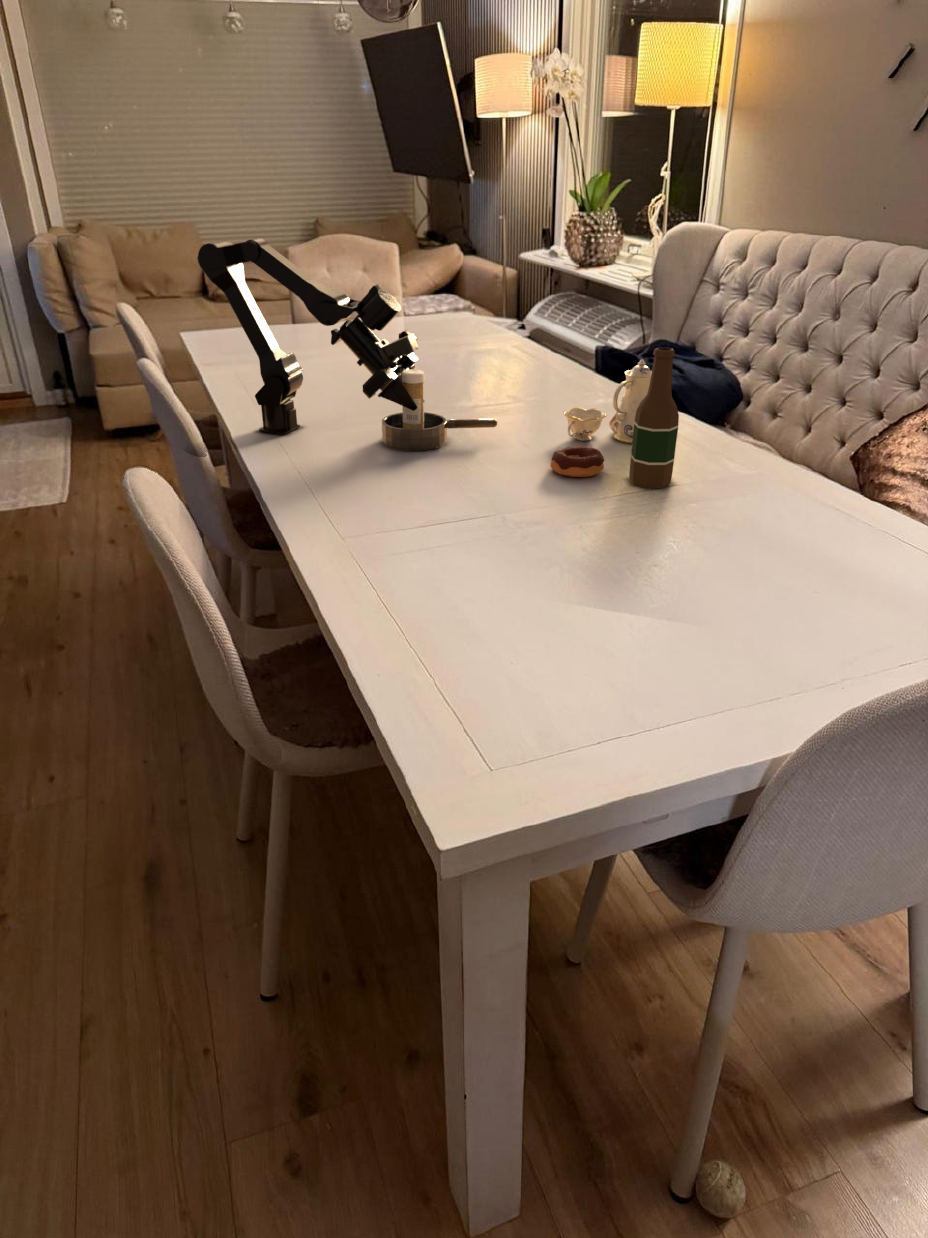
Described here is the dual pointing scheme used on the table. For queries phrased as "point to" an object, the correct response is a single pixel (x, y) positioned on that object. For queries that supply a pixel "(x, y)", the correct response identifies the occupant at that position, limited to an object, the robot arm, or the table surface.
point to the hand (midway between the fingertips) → (419, 406)
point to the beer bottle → (655, 427)
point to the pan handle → (471, 423)
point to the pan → (414, 433)
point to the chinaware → (624, 418)
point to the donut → (577, 461)
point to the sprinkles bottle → (414, 387)
